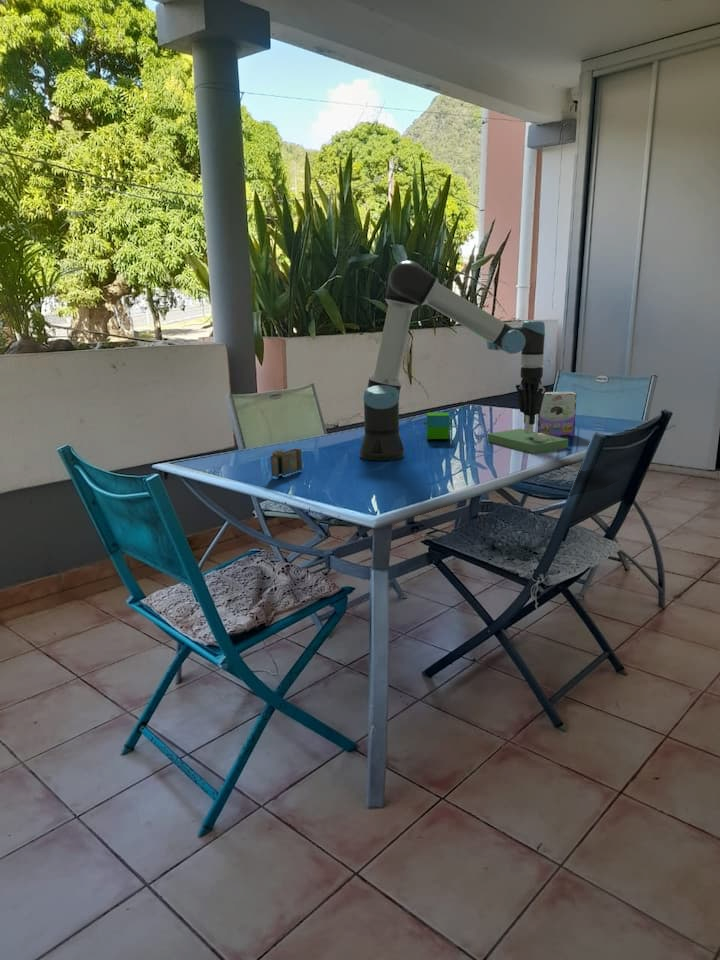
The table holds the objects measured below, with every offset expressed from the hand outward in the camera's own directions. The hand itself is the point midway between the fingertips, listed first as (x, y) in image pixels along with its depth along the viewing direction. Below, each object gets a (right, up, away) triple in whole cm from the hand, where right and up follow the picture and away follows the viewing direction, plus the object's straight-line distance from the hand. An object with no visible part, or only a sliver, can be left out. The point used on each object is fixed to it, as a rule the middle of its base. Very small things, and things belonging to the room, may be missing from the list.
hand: (528, 432), depth 238 cm
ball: (+3, -3, -4) cm, 6 cm away
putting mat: (0, -4, +2) cm, 4 cm away
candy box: (+14, 0, +16) cm, 22 cm away
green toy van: (-31, -1, +16) cm, 35 cm away
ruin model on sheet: (-83, -16, -31) cm, 90 cm away
